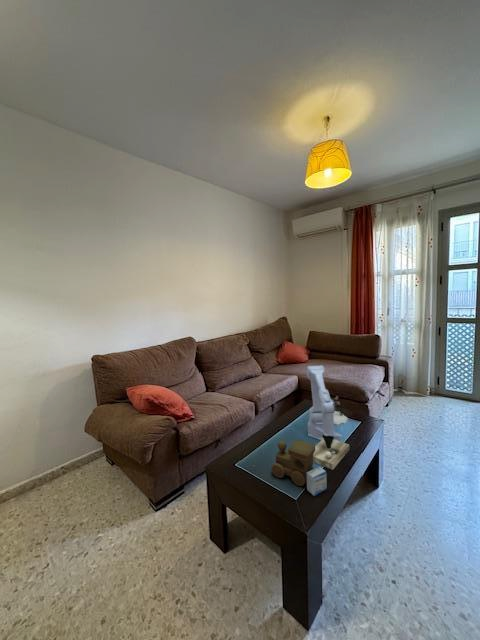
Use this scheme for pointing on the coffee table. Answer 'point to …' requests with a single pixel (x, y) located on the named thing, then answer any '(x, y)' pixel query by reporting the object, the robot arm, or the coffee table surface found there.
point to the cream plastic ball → (328, 454)
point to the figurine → (339, 415)
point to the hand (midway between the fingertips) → (328, 447)
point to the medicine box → (316, 481)
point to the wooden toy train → (294, 461)
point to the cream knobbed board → (336, 445)
